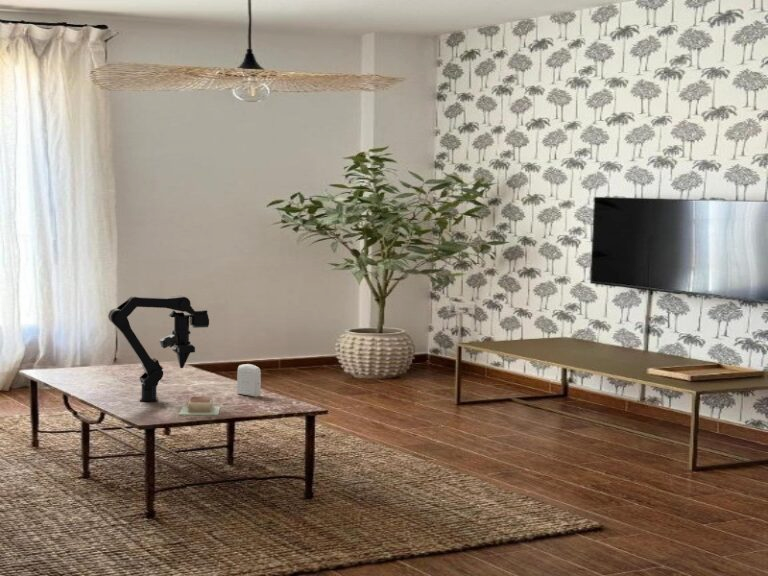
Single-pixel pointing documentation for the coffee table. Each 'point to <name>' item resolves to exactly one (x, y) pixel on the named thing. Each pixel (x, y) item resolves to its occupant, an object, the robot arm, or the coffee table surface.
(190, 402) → the birch tile
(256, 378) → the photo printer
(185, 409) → the mat
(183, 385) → the coffee table surface
